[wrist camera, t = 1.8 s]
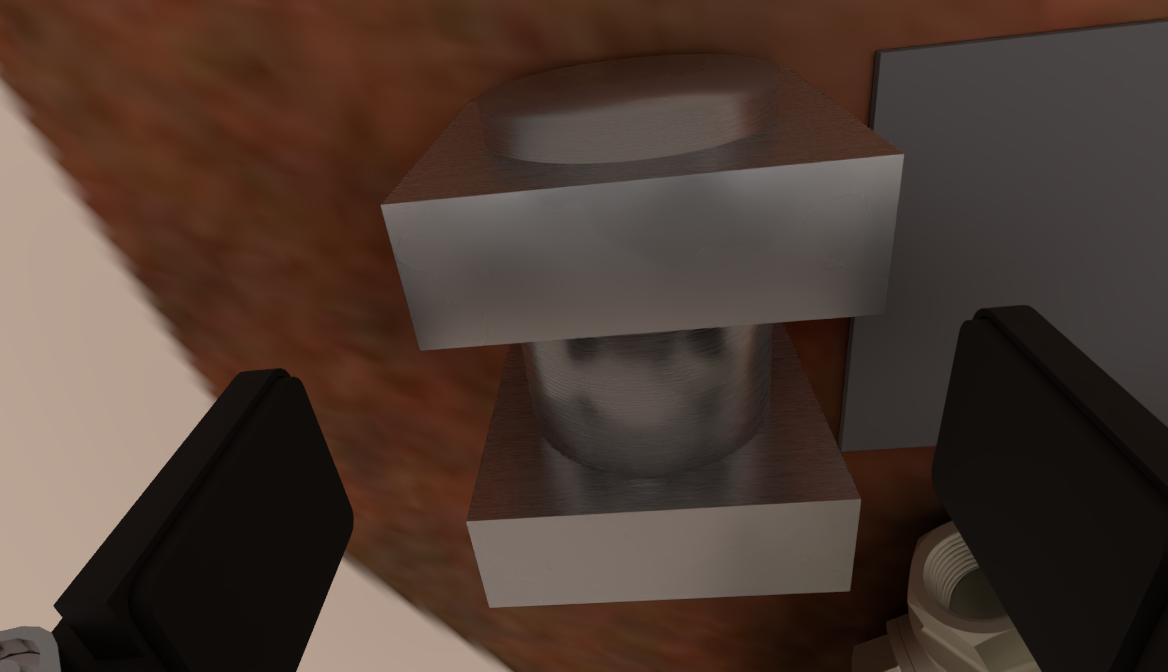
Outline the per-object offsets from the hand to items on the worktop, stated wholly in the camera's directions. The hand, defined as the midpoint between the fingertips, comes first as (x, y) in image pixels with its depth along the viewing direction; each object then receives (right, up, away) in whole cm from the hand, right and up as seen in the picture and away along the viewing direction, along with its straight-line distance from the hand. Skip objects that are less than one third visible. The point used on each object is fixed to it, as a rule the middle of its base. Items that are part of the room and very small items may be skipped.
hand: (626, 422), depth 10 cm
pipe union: (+1, +3, +6) cm, 7 cm away
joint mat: (+11, +3, +6) cm, 12 cm away
